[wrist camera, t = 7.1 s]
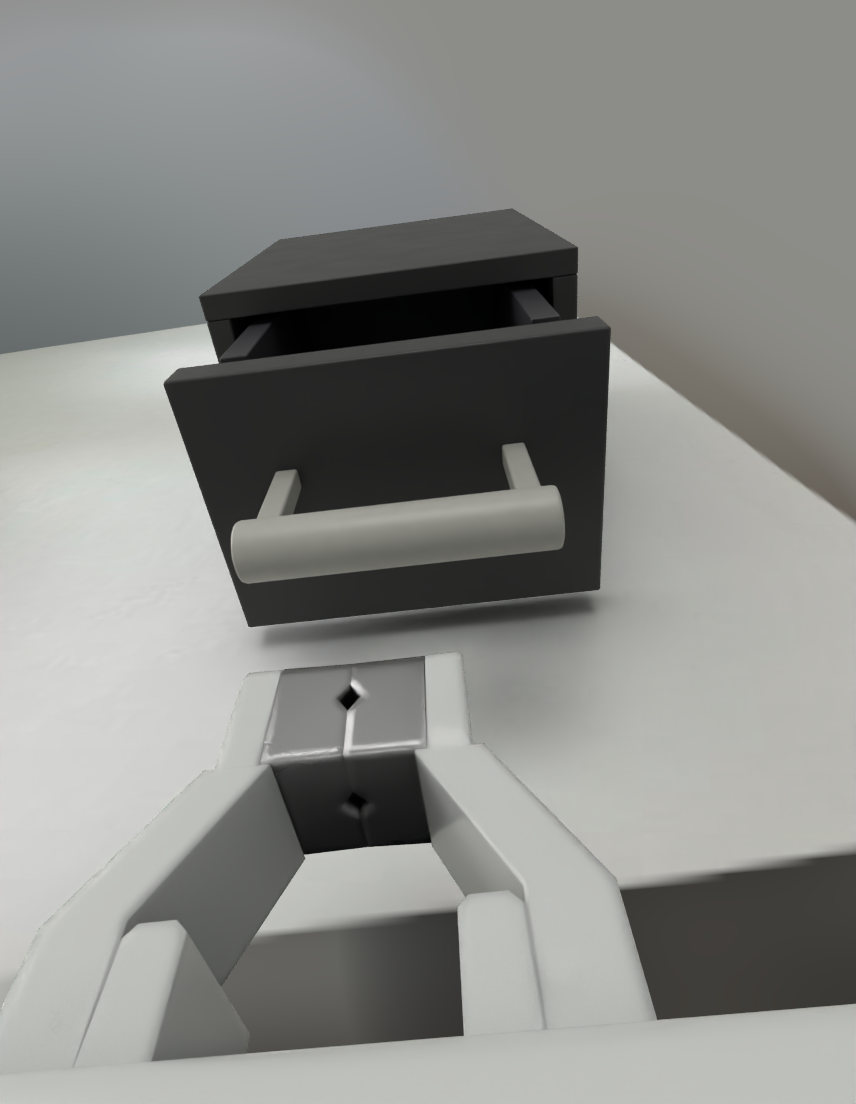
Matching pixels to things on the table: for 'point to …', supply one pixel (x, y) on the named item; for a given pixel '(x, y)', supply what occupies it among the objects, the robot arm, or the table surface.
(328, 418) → the black drawer
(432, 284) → the dark grey drawer cabinet
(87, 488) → the table surface
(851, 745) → the table surface
